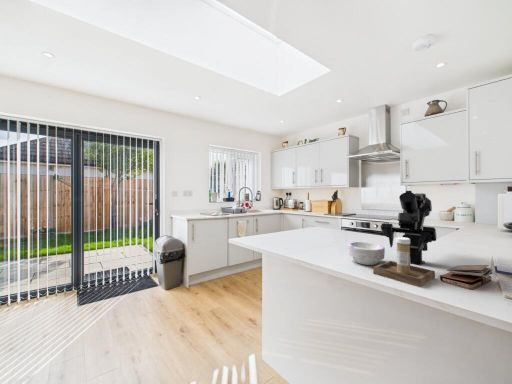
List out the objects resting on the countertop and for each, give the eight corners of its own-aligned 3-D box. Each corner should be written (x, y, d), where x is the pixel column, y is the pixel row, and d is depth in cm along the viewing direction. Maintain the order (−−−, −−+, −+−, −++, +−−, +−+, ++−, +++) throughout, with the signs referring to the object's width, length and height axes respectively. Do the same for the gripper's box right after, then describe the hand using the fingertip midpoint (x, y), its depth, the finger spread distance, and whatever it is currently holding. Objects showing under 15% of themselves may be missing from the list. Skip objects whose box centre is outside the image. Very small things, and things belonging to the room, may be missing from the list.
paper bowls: (389, 268, 99) (389, 249, 99) (351, 266, 102) (351, 248, 102) (378, 258, 114) (378, 242, 114) (345, 256, 117) (345, 240, 117)
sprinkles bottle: (412, 272, 90) (412, 238, 90) (407, 275, 88) (407, 239, 87) (399, 269, 94) (399, 236, 94) (394, 272, 91) (394, 237, 91)
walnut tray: (390, 266, 101) (390, 260, 101) (434, 278, 88) (434, 271, 88) (373, 273, 93) (373, 266, 93) (419, 286, 80) (419, 279, 80)
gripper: (381, 204, 102) (373, 233, 94) (435, 206, 89) (431, 239, 81) (386, 220, 108) (379, 249, 100) (438, 224, 95) (434, 257, 87)
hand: (404, 248), depth 92 cm, fingers open, 9 cm apart
